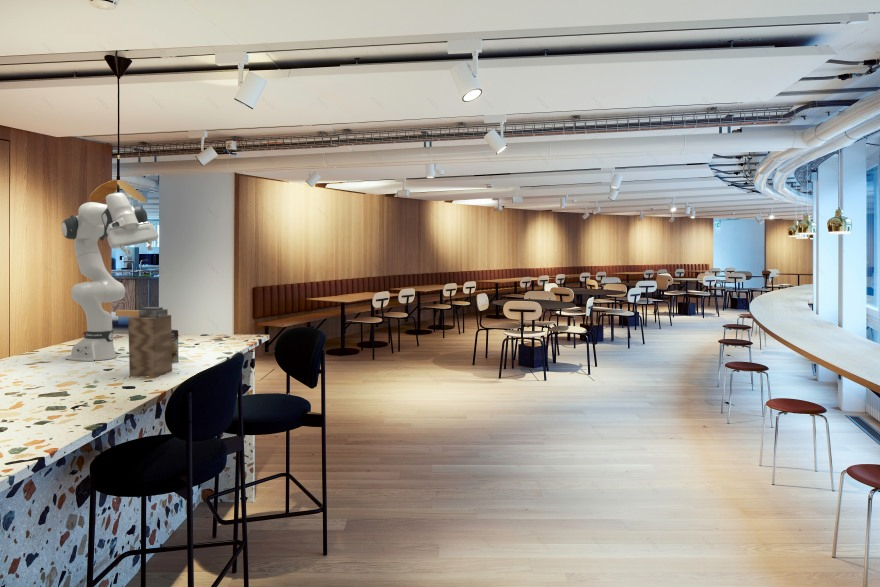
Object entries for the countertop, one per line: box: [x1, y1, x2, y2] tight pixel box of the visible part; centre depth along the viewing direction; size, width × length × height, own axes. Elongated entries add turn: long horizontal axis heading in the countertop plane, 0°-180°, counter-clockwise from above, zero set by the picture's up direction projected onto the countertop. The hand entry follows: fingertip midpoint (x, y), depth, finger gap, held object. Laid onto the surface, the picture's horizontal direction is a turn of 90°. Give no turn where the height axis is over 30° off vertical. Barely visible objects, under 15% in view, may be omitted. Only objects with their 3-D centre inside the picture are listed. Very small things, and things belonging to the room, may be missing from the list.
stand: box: [127, 308, 173, 378], centre depth 270 cm, size 12×14×29 cm
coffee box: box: [171, 328, 180, 364], centre depth 296 cm, size 9×6×16 cm
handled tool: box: [115, 306, 164, 318], centre depth 269 cm, size 20×5×4 cm, turn 86°
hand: (139, 252), depth 265 cm, fingers open, 8 cm apart
